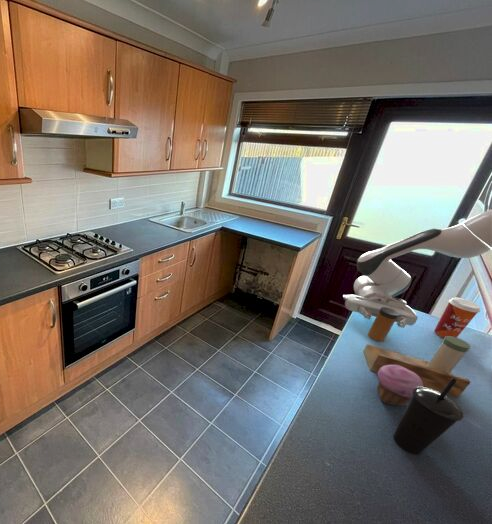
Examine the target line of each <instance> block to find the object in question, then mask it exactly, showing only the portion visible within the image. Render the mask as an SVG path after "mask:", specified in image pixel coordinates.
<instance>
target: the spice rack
mask: <svg viewBox="0 0 492 524" xmlns="http://www.w3.org/2000/svg"><path fill="white" fill-rule="evenodd" d="M362 352H363V355H364V357H365V361H366V364H367V366H368V369H369V370H370V371H371V372H375V373H377V374H378V371H379V369H380V368H381V367H382V366H385V365H399V366H402V367H404V368H406V369H408V370H410V371H412V372H414V373H415V374H417V375H418V376H419V377H420V379H421V380H422V383H423V386H424V387H426V388H430V389H433V390H435V391H437V392H440V393H442V392H443V390H444V389H445V388H446V386H447V385H448V384H449V382H450V381H451V380H452V378H453V379H456V380H457V382H456V383H455V384H454V386H453V387H452V388H451V389H450V391H449V392H448V393H447V395H448V396H451V397H454V398H457V399H458V398H459V397H460V396H462V394H463V392H464V391H465V390H466V389H467V387H468V386H469V385H470V384H471V380H470V379H468V378H465V377H462V376H460V375H459V376H458V375H456V374H455V375H454V373H453V371H452V372H451V373H450V374H448V373H445V372H441V371H438V370H435V369H431V368H428V367H426V366H427V364H428V363H429V361H427V360H424V359H420V358H416V357H413V356H409V355H406V354H403V353H400V352H395V351H392V350H389V349H385V348H382V347H378V346H374V345H371V344H366V345H365V347H364V348H363V351H362Z"/></svg>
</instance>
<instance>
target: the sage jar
mask: <svg viewBox="0 0 492 524" xmlns="http://www.w3.org/2000/svg"><path fill="white" fill-rule="evenodd" d="M470 349H471V345H470V344H469V343H468V342H467V341H465V340H463V339H462V338H459V337H457V338H456V337H453V336H446V337H445V338H443V340H442V342H441V343H440V345H439V347H438V348H437V349H436V351H435V353H434V354H433V355H432V357H431V358H430V360H429V361H428V362H429V363H428V364H427V366H426V367H428V368H431V369H435V370H438V371H441V372H445V373H448V374H450V373H451V372H452V373H453V370H454V369H455V368H456V367H457V365H458V364H459V363H460V361H461V360H462V359H463V357H464V356H465V354H466V353H468V352H469V350H470Z"/></svg>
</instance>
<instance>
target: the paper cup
mask: <svg viewBox="0 0 492 524" xmlns="http://www.w3.org/2000/svg"><path fill="white" fill-rule="evenodd" d="M480 312H481V306H480V305H479V304H478V303H476V302H474V301H472V300H469V299H466V298H463V297H455V296H454V297H451V298H450V299H448V303H447V305H446V307H445V309H444V311H443V313H442V315H441V317H440V319H439V320H438V322H437V324H436V326H435V328H434V330H433V333H435V335H437V336H439V337H440V338H443V339H444V338H445V337H446V336H453V337H456V338H459V335H460V334H461V333H462V332H463V331H464V330H465V328H467V326H468V325H469V323H471V321H472V320H473V319H474V318H475V316H476V315H477V314H478V313H480Z"/></svg>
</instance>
